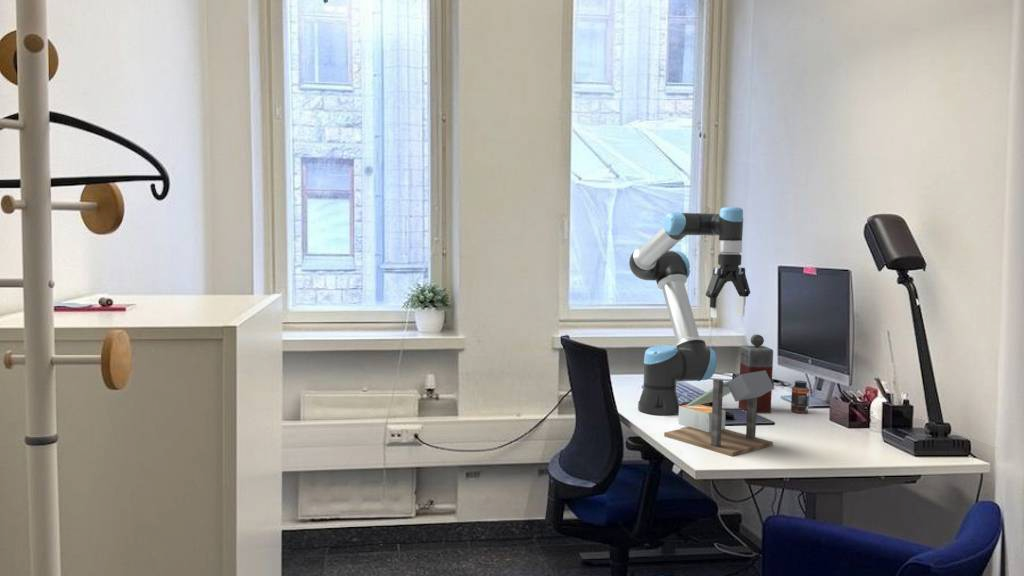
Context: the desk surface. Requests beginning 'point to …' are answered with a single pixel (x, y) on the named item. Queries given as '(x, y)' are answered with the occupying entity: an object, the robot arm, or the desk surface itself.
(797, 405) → the supplement bottle
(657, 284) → the robot arm
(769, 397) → the red and grey canister
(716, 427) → the frame
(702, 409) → the small box
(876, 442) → the desk surface
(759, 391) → the trapdoor
